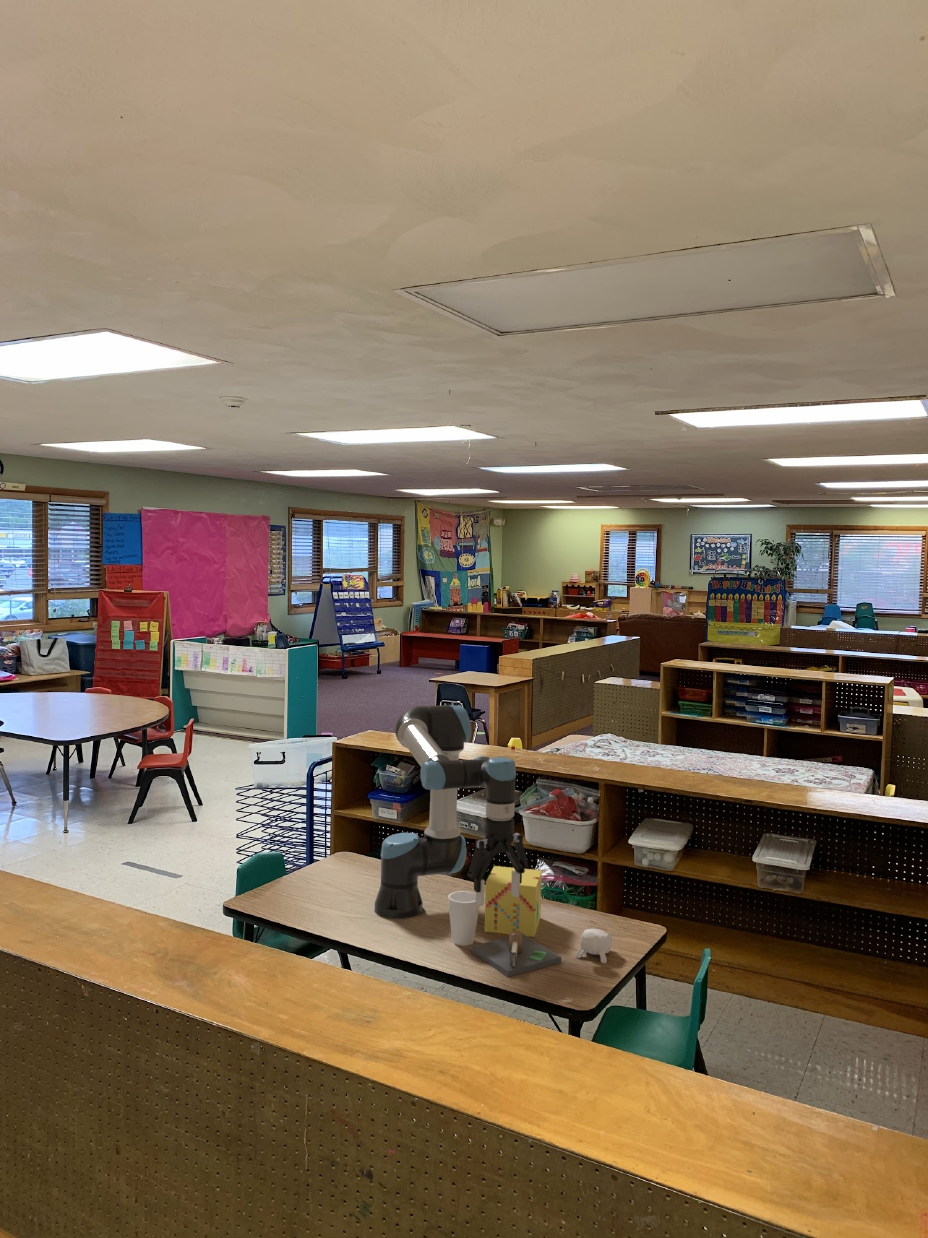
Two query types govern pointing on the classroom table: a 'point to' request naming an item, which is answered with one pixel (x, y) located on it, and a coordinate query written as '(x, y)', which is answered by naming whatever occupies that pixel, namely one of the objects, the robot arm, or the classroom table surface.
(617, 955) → the classroom table surface
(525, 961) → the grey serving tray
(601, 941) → the white footed figurine
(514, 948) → the tuning lever
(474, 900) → the foam cup
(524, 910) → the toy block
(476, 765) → the robot arm
